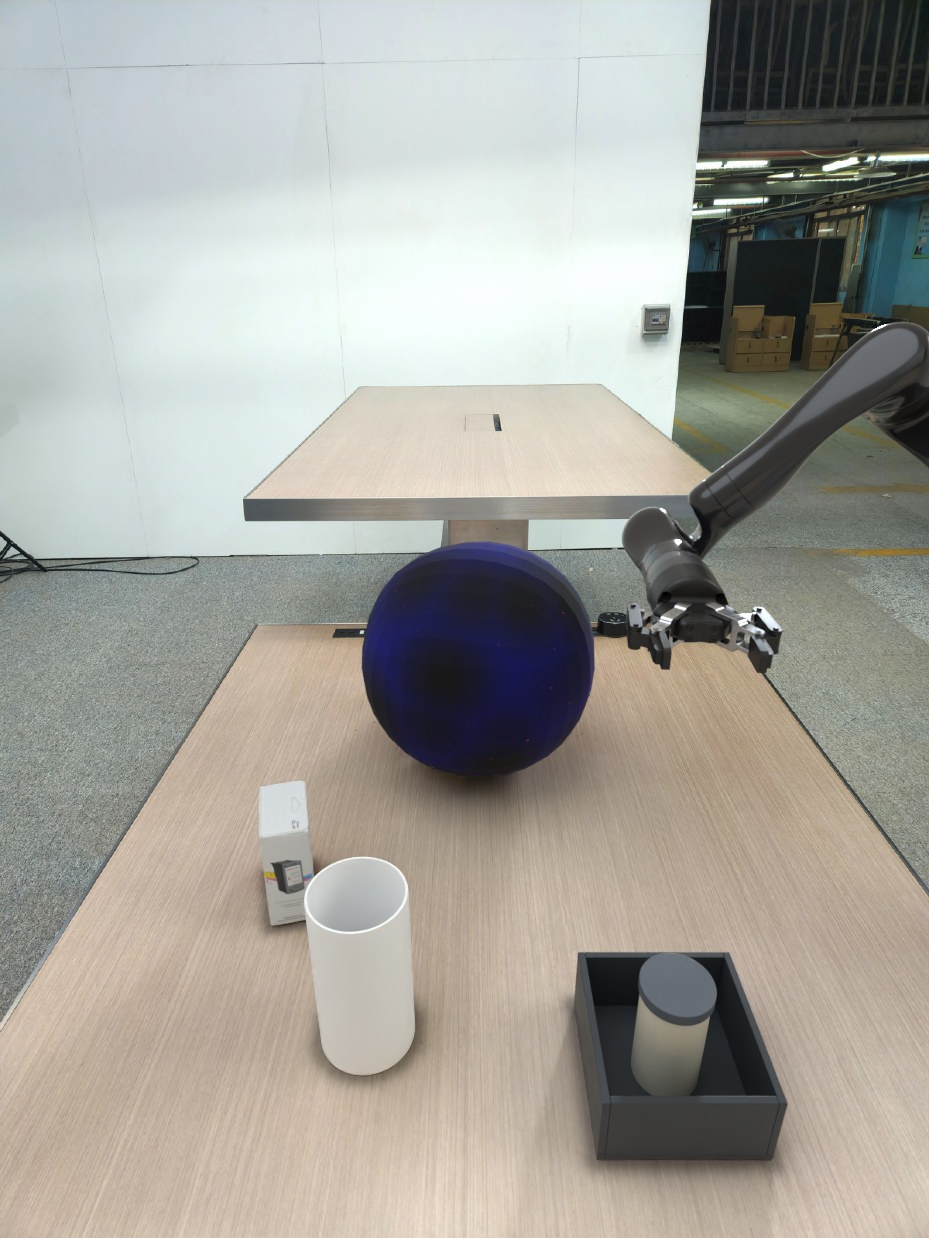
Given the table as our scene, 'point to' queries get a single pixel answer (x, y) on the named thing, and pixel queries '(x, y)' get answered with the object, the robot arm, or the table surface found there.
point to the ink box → (285, 849)
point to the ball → (478, 659)
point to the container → (671, 1024)
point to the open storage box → (727, 1084)
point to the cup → (361, 963)
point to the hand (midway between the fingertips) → (715, 662)
